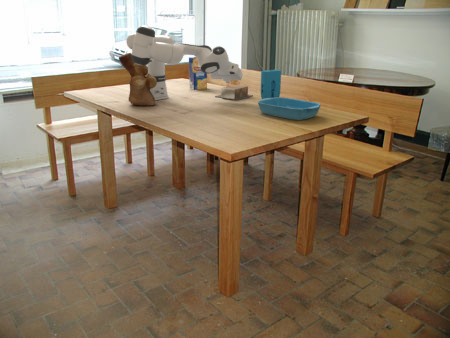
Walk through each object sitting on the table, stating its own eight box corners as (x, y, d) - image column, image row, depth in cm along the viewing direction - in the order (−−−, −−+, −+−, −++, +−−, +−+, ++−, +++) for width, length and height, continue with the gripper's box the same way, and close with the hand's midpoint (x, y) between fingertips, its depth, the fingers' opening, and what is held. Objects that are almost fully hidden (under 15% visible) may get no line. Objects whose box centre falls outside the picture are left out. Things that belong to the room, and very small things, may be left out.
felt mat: (237, 100, 287) (237, 99, 286) (215, 97, 297) (215, 96, 297) (253, 96, 300) (253, 95, 300) (231, 93, 310) (231, 92, 310)
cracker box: (207, 88, 329) (206, 57, 322) (193, 89, 324) (193, 58, 317) (202, 87, 335) (202, 56, 327) (189, 88, 329) (188, 57, 322)
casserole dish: (249, 112, 253) (250, 100, 251) (275, 107, 268) (276, 95, 265) (302, 124, 228) (303, 110, 226) (328, 117, 243) (329, 104, 240)
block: (275, 102, 280) (276, 69, 273) (280, 103, 276) (281, 70, 269) (259, 104, 274) (260, 70, 268) (264, 105, 270) (265, 71, 264)
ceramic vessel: (156, 106, 267) (156, 54, 258) (119, 106, 264) (117, 53, 254) (156, 102, 282) (156, 52, 272) (121, 101, 279) (119, 51, 269)
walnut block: (233, 89, 285) (247, 86, 297) (221, 88, 290) (235, 84, 302) (233, 99, 287) (247, 95, 299) (221, 97, 292) (235, 93, 304)
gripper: (206, 71, 278) (211, 85, 290) (238, 72, 272) (242, 86, 284) (209, 63, 281) (214, 77, 293) (240, 64, 275) (244, 79, 287)
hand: (228, 82), depth 288 cm, fingers closed
